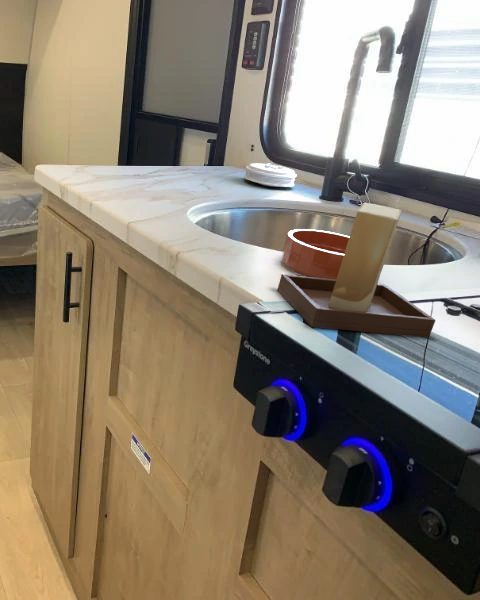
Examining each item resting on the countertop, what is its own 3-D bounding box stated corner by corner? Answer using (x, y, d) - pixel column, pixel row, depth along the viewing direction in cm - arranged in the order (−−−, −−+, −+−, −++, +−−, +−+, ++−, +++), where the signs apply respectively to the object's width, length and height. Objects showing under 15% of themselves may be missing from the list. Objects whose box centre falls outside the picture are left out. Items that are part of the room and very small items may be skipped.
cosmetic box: (335, 294, 77) (363, 201, 72) (371, 303, 75) (403, 209, 70) (326, 308, 72) (356, 208, 67) (364, 319, 70) (398, 217, 65)
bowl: (346, 261, 95) (354, 234, 93) (388, 291, 83) (398, 261, 82) (268, 253, 94) (275, 225, 92) (299, 282, 82) (308, 251, 80)
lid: (302, 192, 149) (307, 172, 147) (254, 187, 147) (259, 167, 145) (279, 181, 160) (284, 162, 158) (235, 177, 158) (239, 158, 156)
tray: (380, 300, 79) (385, 284, 78) (429, 338, 69) (436, 320, 68) (277, 290, 78) (281, 273, 77) (311, 327, 68) (316, 308, 67)
